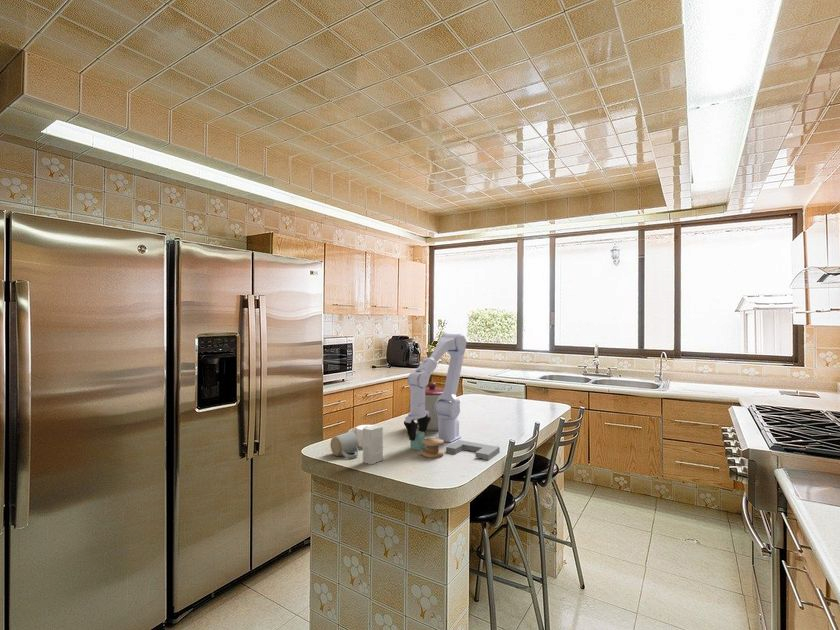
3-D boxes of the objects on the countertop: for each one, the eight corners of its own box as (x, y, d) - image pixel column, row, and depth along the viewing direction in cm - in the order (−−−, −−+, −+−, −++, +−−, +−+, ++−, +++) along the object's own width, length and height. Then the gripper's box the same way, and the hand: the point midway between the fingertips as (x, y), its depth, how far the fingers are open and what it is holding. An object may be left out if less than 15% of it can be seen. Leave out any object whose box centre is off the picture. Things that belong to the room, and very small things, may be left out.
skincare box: (374, 458, 156) (374, 424, 156) (383, 460, 153) (383, 426, 153) (361, 462, 151) (362, 427, 151) (370, 465, 148) (370, 430, 148)
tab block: (415, 445, 171) (415, 430, 171) (424, 447, 169) (424, 432, 169) (410, 448, 167) (410, 432, 168) (419, 450, 165) (419, 434, 165)
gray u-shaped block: (458, 445, 172) (458, 440, 172) (499, 452, 163) (499, 446, 163) (446, 452, 163) (446, 447, 163) (488, 460, 154) (488, 454, 154)
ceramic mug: (328, 454, 160) (329, 433, 160) (347, 449, 165) (347, 429, 165) (345, 461, 152) (345, 439, 152) (364, 456, 158) (364, 435, 158)
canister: (405, 425, 203) (406, 380, 203) (440, 422, 210) (440, 378, 210) (422, 435, 186) (422, 386, 186) (458, 431, 194) (459, 383, 194)
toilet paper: (345, 446, 170) (345, 428, 170) (368, 440, 178) (369, 423, 178) (357, 450, 164) (358, 432, 164) (381, 444, 172) (381, 427, 172)
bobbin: (428, 449, 166) (428, 436, 166) (447, 453, 161) (447, 440, 161) (417, 455, 159) (417, 441, 159) (436, 459, 155) (436, 445, 155)
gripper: (418, 398, 177) (418, 432, 176) (398, 404, 164) (398, 440, 164) (433, 400, 173) (433, 434, 173) (414, 406, 160) (414, 443, 160)
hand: (417, 437), depth 168 cm, fingers open, 7 cm apart
